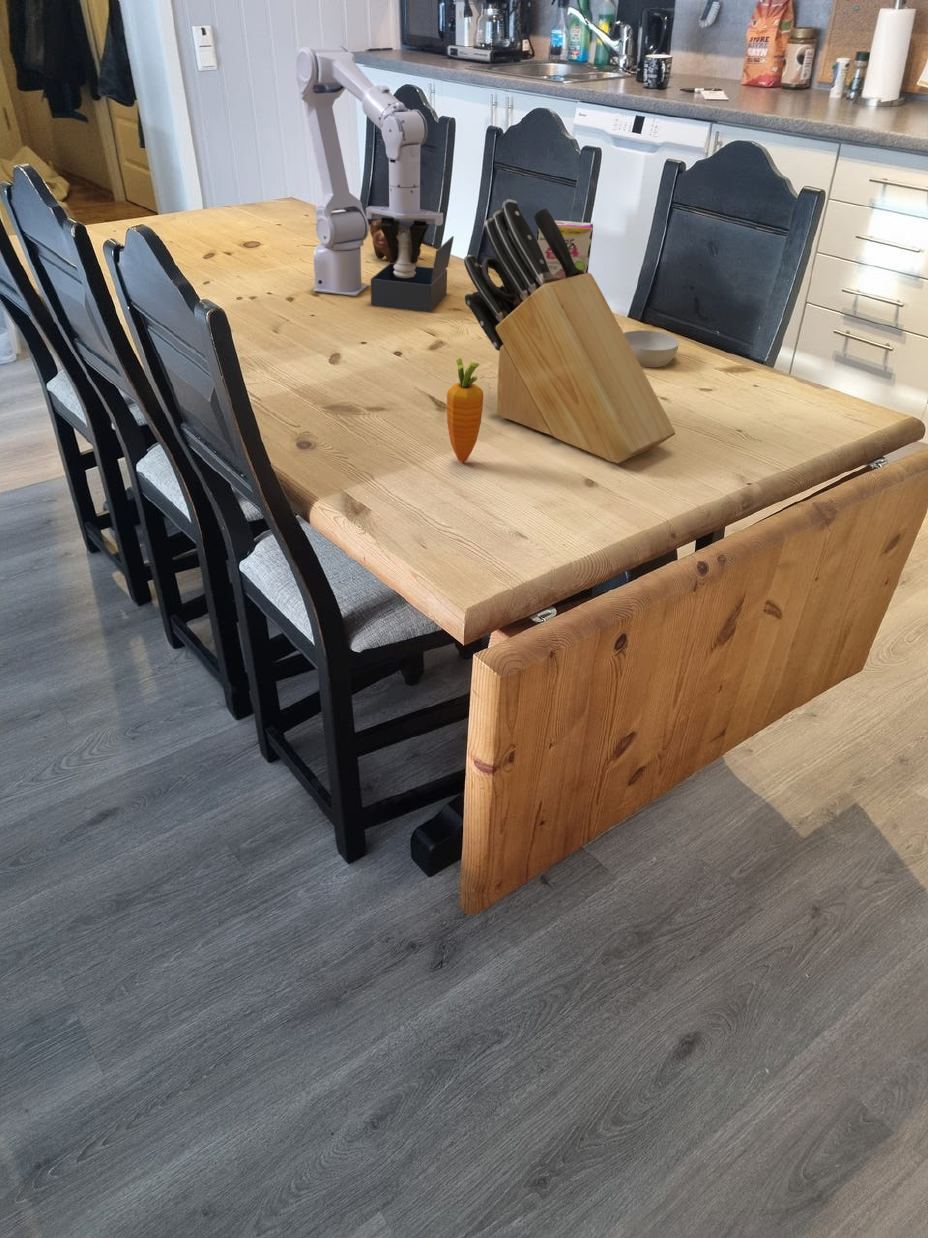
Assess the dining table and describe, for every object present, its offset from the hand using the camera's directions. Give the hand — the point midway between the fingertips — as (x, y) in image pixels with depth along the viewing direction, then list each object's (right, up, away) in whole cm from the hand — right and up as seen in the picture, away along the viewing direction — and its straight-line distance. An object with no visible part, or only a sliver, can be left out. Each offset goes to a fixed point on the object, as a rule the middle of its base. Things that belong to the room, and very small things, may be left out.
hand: (404, 261), depth 179 cm
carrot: (+11, -47, -48) cm, 68 cm away
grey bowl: (+41, -21, -9) cm, 47 cm away
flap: (+7, +3, +7) cm, 11 cm away
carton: (0, -3, +14) cm, 14 cm away
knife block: (+26, -39, -36) cm, 59 cm away
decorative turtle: (-5, +18, +36) cm, 41 cm away
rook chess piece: (0, -2, +2) cm, 3 cm away
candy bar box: (+31, -4, +14) cm, 34 cm away
